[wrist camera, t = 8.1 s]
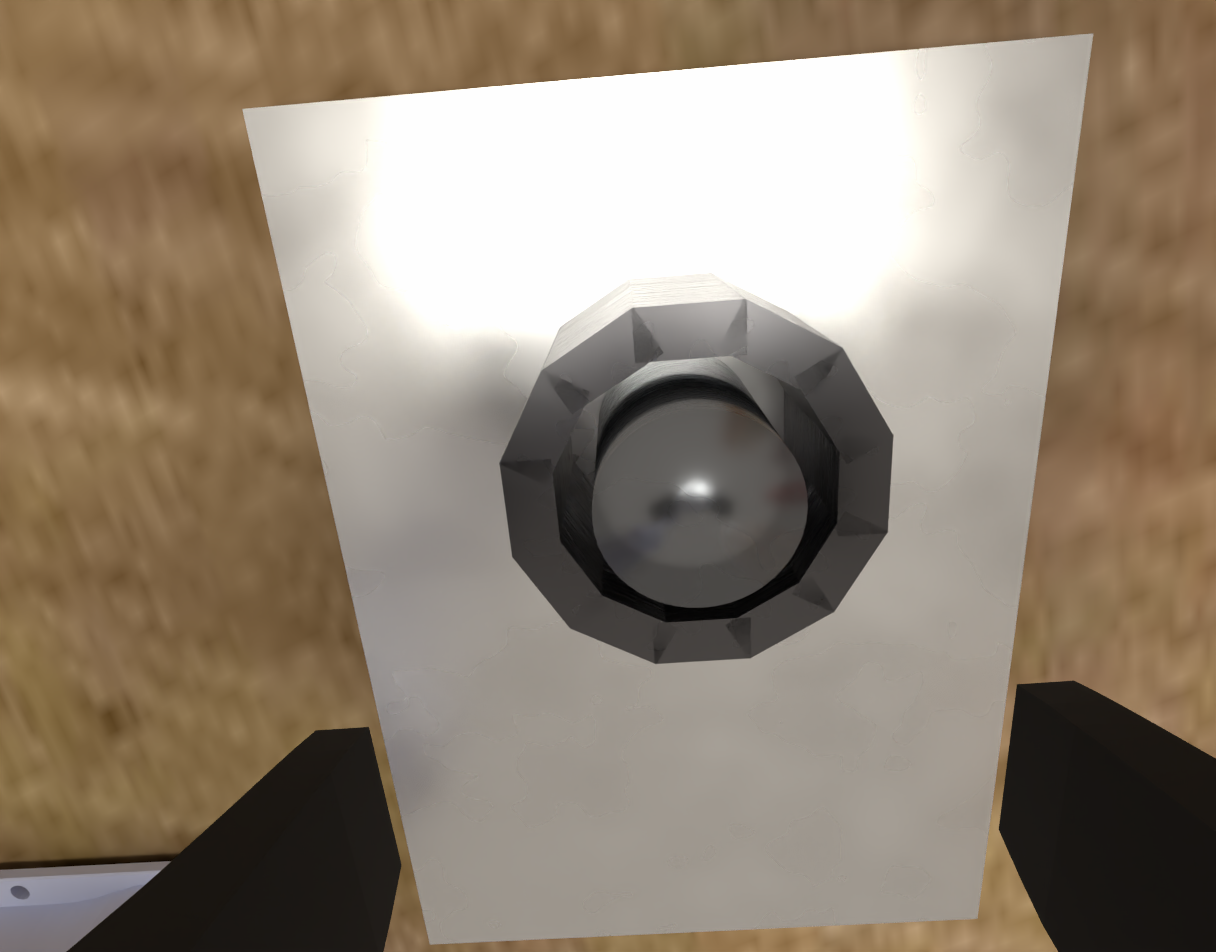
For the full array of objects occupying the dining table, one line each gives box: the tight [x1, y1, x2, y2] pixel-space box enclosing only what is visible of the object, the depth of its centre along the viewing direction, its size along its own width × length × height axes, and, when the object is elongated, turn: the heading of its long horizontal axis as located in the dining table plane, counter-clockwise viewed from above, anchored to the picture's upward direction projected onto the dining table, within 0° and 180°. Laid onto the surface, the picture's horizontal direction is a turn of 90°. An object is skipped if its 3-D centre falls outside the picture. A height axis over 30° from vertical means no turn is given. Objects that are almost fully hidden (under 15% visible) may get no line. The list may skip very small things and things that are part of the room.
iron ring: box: [499, 273, 894, 664], centre depth 13 cm, size 6×6×4 cm
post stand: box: [242, 34, 1093, 944], centre depth 15 cm, size 15×21×6 cm
